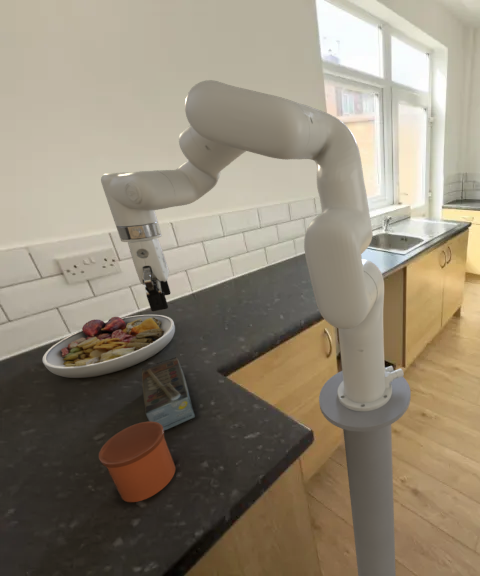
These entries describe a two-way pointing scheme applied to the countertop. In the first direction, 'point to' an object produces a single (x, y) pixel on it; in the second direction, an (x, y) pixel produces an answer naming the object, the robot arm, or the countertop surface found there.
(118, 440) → the terracotta crock
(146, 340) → the food platter
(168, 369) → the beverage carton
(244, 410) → the countertop surface
